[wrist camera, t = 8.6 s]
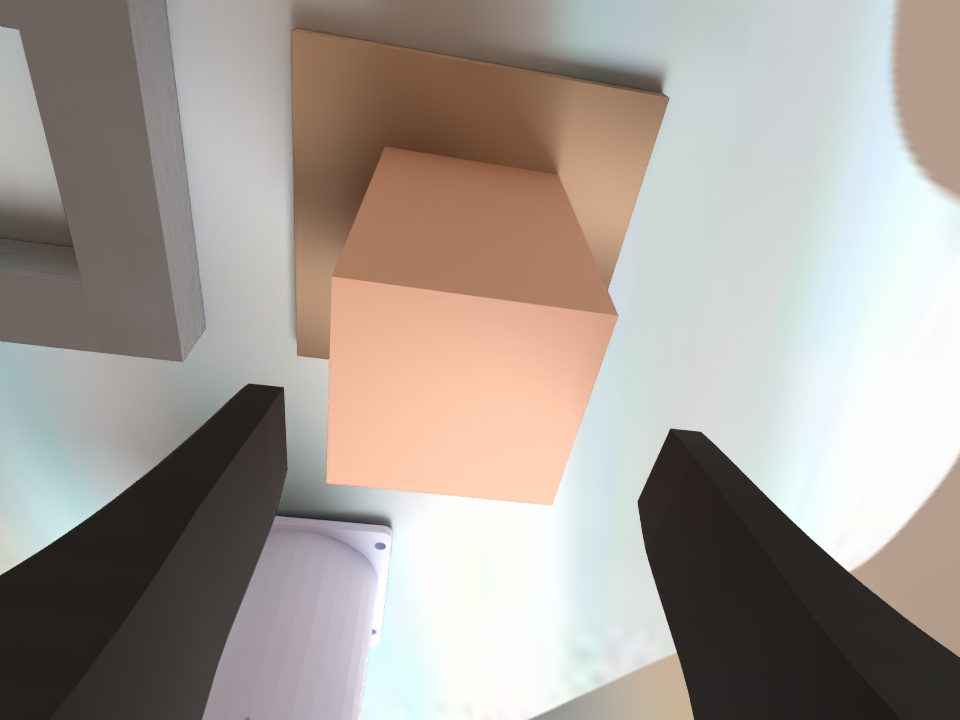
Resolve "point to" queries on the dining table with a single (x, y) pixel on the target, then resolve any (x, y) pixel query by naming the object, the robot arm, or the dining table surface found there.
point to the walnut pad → (450, 144)
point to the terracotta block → (462, 332)
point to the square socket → (106, 186)
